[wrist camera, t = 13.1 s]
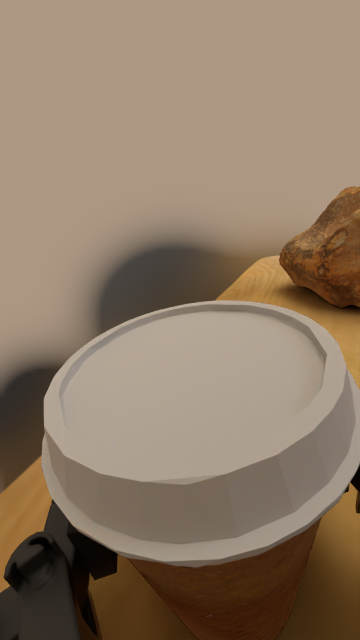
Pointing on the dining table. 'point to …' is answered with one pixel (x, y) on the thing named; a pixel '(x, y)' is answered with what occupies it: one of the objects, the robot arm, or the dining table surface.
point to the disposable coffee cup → (206, 454)
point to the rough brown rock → (329, 252)
